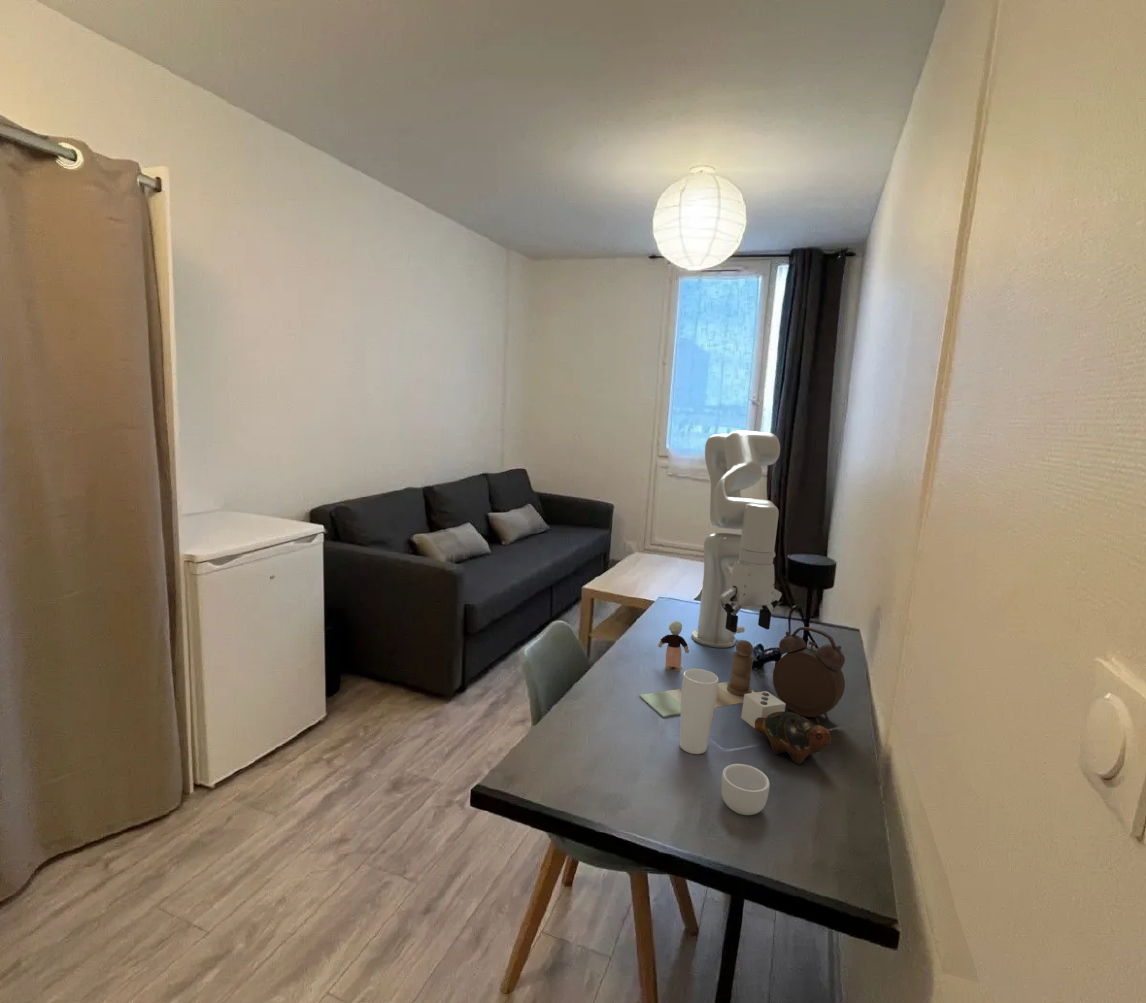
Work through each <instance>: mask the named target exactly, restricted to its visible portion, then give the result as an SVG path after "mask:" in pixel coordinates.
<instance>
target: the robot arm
mask: <svg viewBox="0 0 1146 1003" xmlns="http://www.w3.org/2000/svg"><path fill="white" fill-rule="evenodd" d="M780 455H781V443H780V441H779V438H778V437H777V435H775V434H774V433H772V432H768V431H767V432H765V431H754V430H745V429H744V430H742V429H741V430H735V431H731V432H730V433H718V434H712V435H711V436H709V437H708V438H707V440H706V442H705V447H704V461H705V465H706V468H707V469H706V470H707V472H708V476H709V480H710V494H709V495H710V496H709V497H710V498H709V499H710V501H709V502H710V503H709V517H710V518H709V519H710V523H711V525H712V526H713V527H714V528H716V529H721V530H732V531H740V532H741V534H740V533H739V534H738V533H731V532H730V533H729V532H715V533H711V534H709V535H707V537H706V538H705V539H704V542H703V576H702V577H703V579H702V589H701V595H700V596H701V598H700V605H699V606H700V607H699V615H698V626H697V629H694V630H692V632H691V638H692V639H693V640H694V641H695V642H697V643H699V644H701V645H704V646H707V647H712V648H719V649H720V648H721V649H723V648H724V649H725V648H730V647H733V646H736V645H737V638H736V637H735V635H736V634H741V633H742V634H743V633H744V632H745V630H746V629H745V627H744V626H743V625H740V626H738V622H739V616H738V615H737V614H738V613H739V611H741V609H742V608H753V607H754V608H755V607H761V608H760V609H759V614H758V622H757V625H758V626H759V627H761V628H763V629H765V630H770V626H771V620H772V614H773V613H774V611H775V608H776V607H777V606H778V604H779V601H780V599H781V597H782V595H783V593H782V592H781V591H779V590H778V589H776V588H775V564H773V562H774V558H775V557H776V555H777V554H776V551H775V547H776V546H775V545H776V539H777V530H778V523H779V522H778V521H779V516H780V515H779V514H780V513H779V512H780V511H779V509H778V507H777V506H776V505H775V504H774V503H773V502H772V501H771V500H768V499H762V498H751V497H742V494H741V491H742V490H745V489H749V488H751V487H753V486H754V485H756V484H757V483H758V482H760V480H761V479H762V476H763V469H762V467H766V466H771V465H774V464H775V463H776V462H777V460H778V459H779V457H780ZM731 568H732V571H730V570H731Z"/></svg>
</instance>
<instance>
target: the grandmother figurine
mask: <svg viewBox="0 0 1146 1003" xmlns="http://www.w3.org/2000/svg"><path fill="white" fill-rule="evenodd" d="M668 630H669V631H670V633H671V634H666V635H664V636H663V637H662V638H661V639H660V641H659V643H658V645H657V646H658V648H662V647H663V645H664V644H667V646H666V652H665V669H666V670H671V669H673V668H674V669H673V670H675V671H677V672H678V671H679V672H680V671H681V670H683V668H682V648H683V650H684V653H686V654H689V653H690V650H689V646H688V643H687V642H686V639H685V638H684V637H683V636H681V635H680V634H681V632H682V630H683V624H682V622H681V621H680V620H679V621H678V620H674V621H671V623H670V624H669V625H668ZM681 646H682V647H681Z"/></svg>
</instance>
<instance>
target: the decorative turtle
mask: <svg viewBox="0 0 1146 1003" xmlns="http://www.w3.org/2000/svg"><path fill="white" fill-rule="evenodd" d="M754 730H756V731H757V732H758V733H760V734H763V735H765V736H766V737H767V739H768V741H769V743H770V748H771V750H772V751H773V753H774V754H776V755H781V754H783V753H784V752H786V753H787V754H788V755H789V757H790V759H791V761H792V762H793V763H794V764H796V765H799V764H802V763H803V761H804V760H805V759H806V758H807V757H808V756H811V755H812V754H814V753H818V752H821V751H823V750H825V749H826V748H827V747H828V746H829V745H831V741H832V735H831V733H830V732H829V731H830V730H828V729H827V728H826V727H824V726H822V725H819V724H815V725H814V723H813V722H811V720H809V719H807V718H806V716H803V715H800V714H797V713H795V712H793V711H785V712H782V711H780V712H775V713H772V714H770V715H768V716H767V718H762V717H759V718H757V719H756V720H755V728H754Z"/></svg>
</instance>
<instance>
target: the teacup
mask: <svg viewBox="0 0 1146 1003" xmlns="http://www.w3.org/2000/svg"><path fill="white" fill-rule="evenodd" d="M770 785H771V784H770V780H769V778H768V776H767V775H766V774H765V773H764V772H763V771H761V770H760V769H758V768H756V767H754V766H752V765H748V764H743V763H733V764H729V765H726V767H724V769H723V770H722V774H721V796H722V799H723V801H724V803H725V804H726V806H727V807H728V808H729V809H730V810H731V811H733V812H734V813H737V814H739V815H742V816H753V815H755V814H759V813H760V812H761V811H762V810H763V809H764V807H765V806H766V804H767V801H768V797H769V793H770Z"/></svg>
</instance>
